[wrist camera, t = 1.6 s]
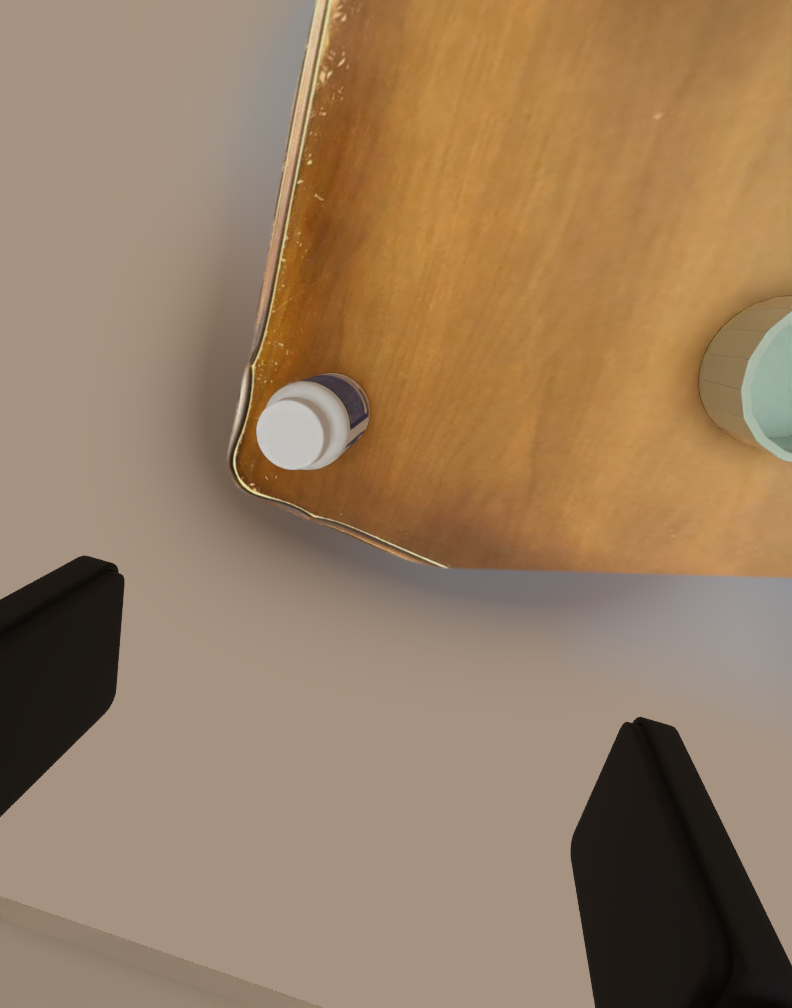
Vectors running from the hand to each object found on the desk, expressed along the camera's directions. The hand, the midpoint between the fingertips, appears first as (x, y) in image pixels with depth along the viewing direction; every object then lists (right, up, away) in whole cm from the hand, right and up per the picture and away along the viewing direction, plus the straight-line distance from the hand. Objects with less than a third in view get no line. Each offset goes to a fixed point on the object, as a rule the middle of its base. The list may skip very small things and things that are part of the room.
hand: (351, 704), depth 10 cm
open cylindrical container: (+25, +12, +25) cm, 37 cm away
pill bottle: (-4, +10, +30) cm, 32 cm away
